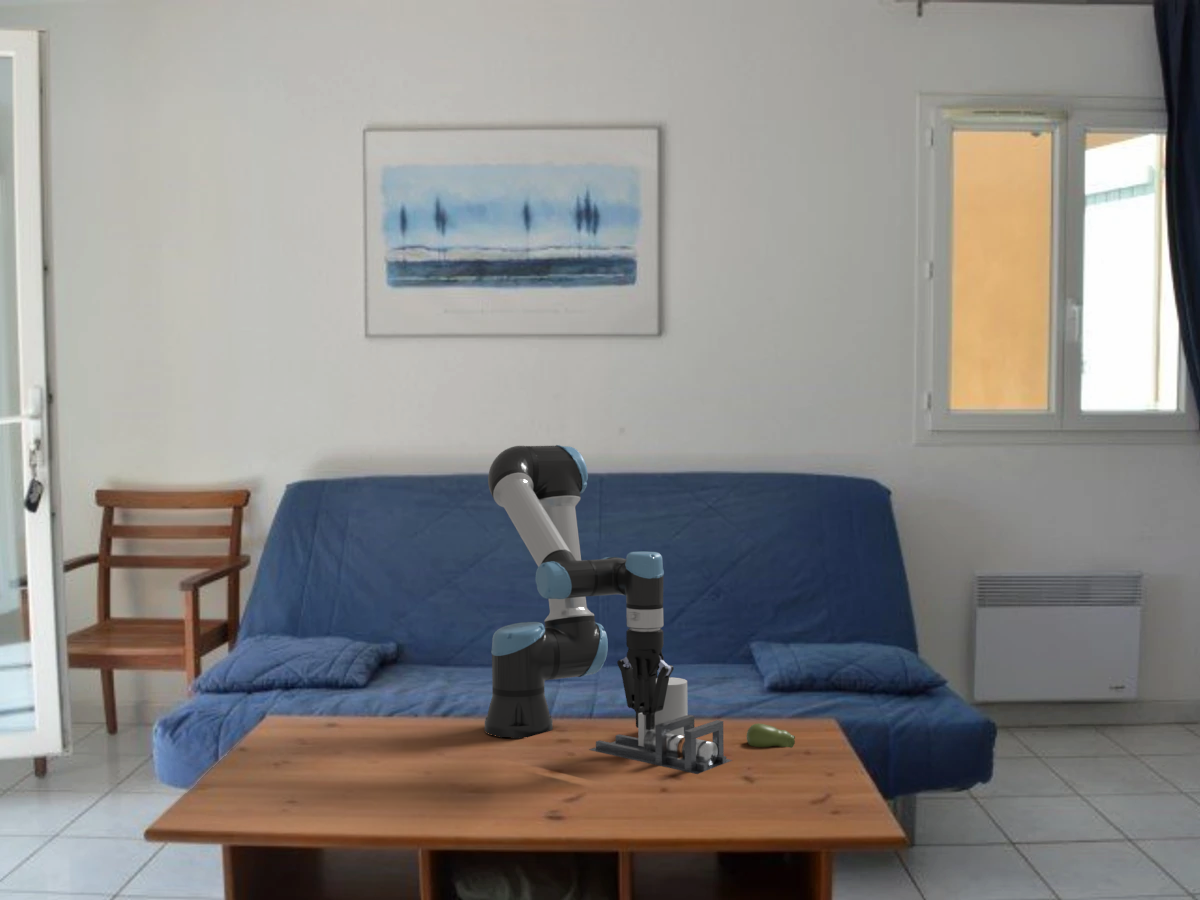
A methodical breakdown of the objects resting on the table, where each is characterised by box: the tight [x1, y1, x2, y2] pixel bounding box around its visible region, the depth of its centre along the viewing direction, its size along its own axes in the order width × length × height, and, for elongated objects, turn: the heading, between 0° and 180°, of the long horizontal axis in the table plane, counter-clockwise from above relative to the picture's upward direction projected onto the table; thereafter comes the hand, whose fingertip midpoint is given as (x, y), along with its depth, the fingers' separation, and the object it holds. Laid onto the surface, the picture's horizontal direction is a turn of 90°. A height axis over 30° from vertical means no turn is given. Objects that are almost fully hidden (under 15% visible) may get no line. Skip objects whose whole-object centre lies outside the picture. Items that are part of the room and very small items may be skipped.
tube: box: [644, 730, 718, 765], centre depth 217 cm, size 15×4×4 cm, turn 50°
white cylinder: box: [652, 677, 688, 736], centre depth 238 cm, size 8×8×12 cm
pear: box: [746, 723, 796, 748], centre depth 227 cm, size 6×5×10 cm
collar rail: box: [588, 714, 733, 775], centre depth 219 cm, size 27×12×8 cm, turn 50°
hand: (645, 744), depth 221 cm, fingers closed
